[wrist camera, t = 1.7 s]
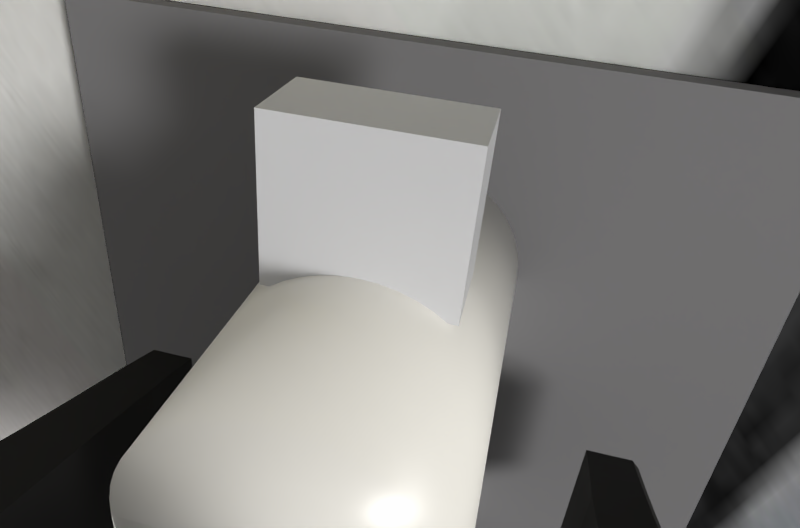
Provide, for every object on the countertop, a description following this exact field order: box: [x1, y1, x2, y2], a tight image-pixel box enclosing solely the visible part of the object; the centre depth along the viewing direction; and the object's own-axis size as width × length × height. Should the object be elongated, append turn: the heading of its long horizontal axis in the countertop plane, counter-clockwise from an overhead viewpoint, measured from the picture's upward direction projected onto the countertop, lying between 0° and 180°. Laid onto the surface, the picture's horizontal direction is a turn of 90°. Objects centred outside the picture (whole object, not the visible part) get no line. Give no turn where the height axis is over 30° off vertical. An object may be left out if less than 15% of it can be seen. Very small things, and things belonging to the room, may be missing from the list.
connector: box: [109, 77, 518, 528], centre depth 8 cm, size 10×3×5 cm, turn 175°
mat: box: [65, 0, 800, 528], centre depth 11 cm, size 11×10×1 cm
